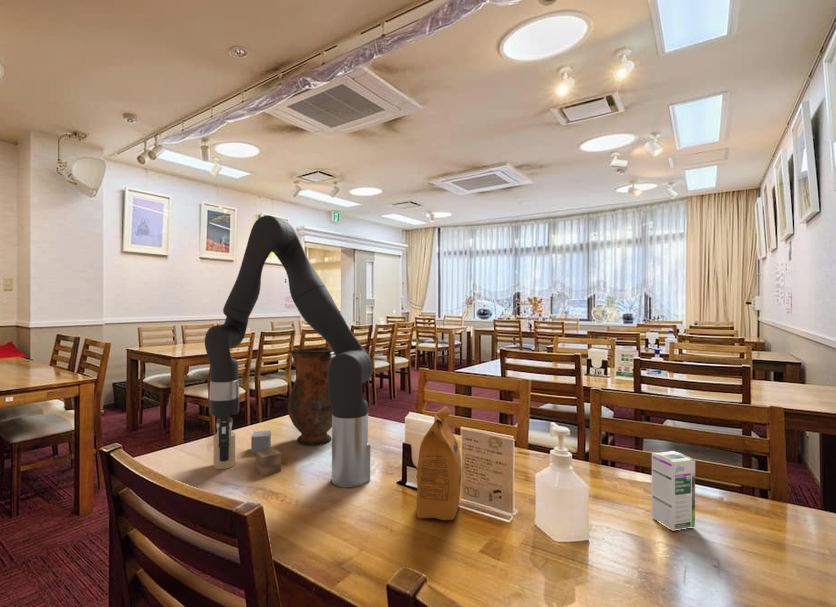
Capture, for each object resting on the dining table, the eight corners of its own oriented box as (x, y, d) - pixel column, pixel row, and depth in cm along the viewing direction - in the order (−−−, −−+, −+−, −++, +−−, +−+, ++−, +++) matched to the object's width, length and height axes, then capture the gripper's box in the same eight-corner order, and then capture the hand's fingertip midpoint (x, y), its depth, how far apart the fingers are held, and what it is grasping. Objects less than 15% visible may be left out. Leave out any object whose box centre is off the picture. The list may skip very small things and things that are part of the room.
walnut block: (274, 465, 118) (274, 447, 117) (280, 471, 114) (280, 453, 114) (255, 470, 114) (256, 451, 114) (262, 476, 111) (262, 457, 110)
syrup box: (673, 533, 86) (674, 462, 85) (650, 518, 91) (651, 451, 91) (695, 529, 87) (696, 459, 87) (671, 514, 93) (672, 449, 92)
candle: (239, 462, 120) (239, 427, 119) (228, 470, 114) (228, 433, 114) (220, 461, 120) (220, 426, 120) (209, 469, 115) (209, 432, 114)
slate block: (270, 446, 132) (270, 430, 132) (268, 452, 127) (268, 435, 127) (253, 447, 131) (253, 431, 131) (251, 453, 126) (251, 436, 126)
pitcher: (303, 430, 148) (303, 345, 147) (360, 435, 143) (360, 347, 142) (276, 446, 132) (276, 351, 131) (339, 453, 127) (339, 354, 126)
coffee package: (466, 499, 99) (467, 406, 98) (455, 527, 87) (456, 421, 86) (426, 493, 102) (426, 402, 101) (409, 519, 90) (410, 417, 89)
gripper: (239, 401, 112) (239, 464, 112) (239, 389, 125) (239, 446, 125) (207, 403, 109) (207, 468, 109) (211, 391, 122) (211, 449, 122)
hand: (224, 456), depth 117 cm, fingers closed on candle, 5 cm apart
